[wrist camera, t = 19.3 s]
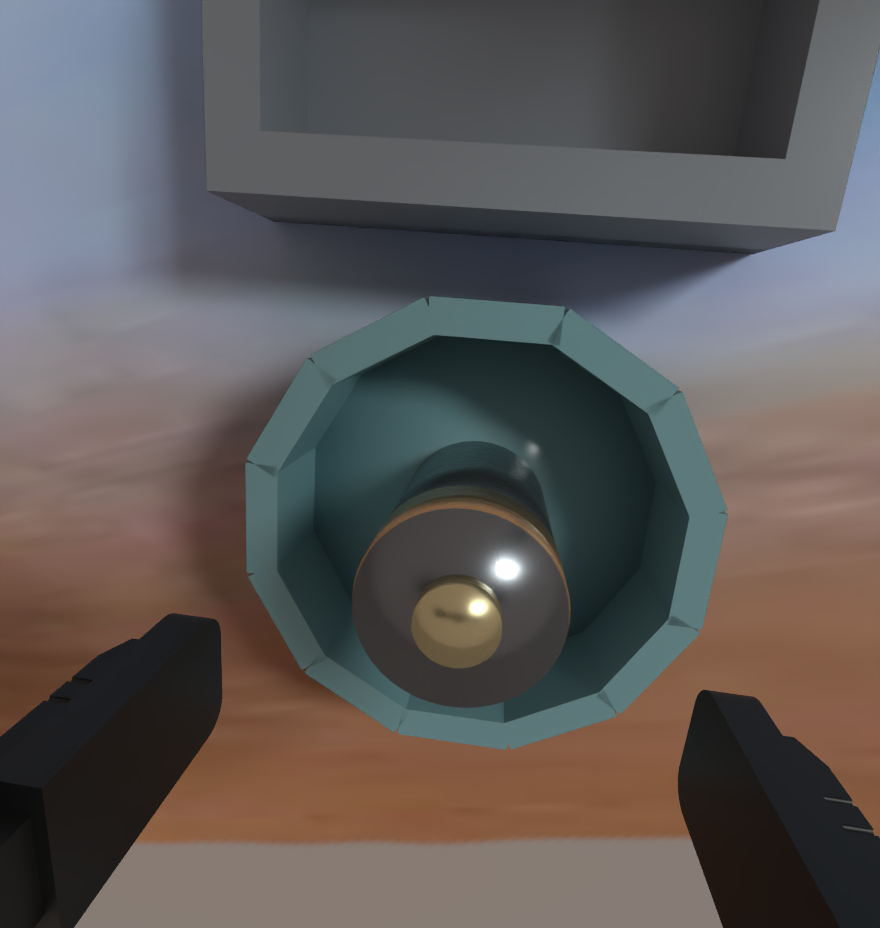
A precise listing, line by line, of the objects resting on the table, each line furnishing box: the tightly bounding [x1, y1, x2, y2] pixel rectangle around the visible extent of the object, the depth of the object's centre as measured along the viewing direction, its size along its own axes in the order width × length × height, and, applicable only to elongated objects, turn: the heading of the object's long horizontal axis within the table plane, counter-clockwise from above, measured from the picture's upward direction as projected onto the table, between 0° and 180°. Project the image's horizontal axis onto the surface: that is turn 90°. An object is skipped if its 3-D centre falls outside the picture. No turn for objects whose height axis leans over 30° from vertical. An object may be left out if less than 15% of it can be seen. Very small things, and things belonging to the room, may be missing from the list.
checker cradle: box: [201, 0, 880, 254], centre depth 15 cm, size 10×16×4 cm, turn 85°
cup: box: [245, 296, 728, 750], centre depth 19 cm, size 14×14×4 cm
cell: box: [352, 441, 571, 708], centre depth 16 cm, size 5×5×8 cm
